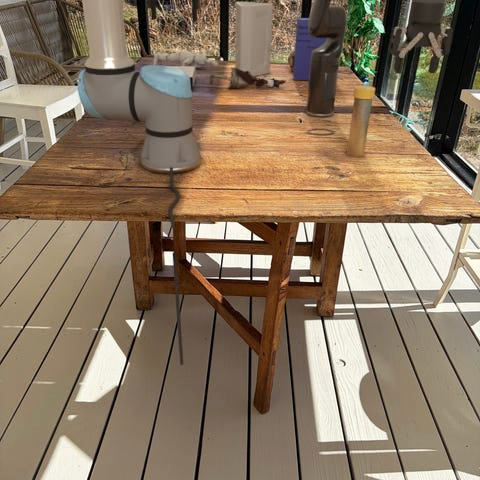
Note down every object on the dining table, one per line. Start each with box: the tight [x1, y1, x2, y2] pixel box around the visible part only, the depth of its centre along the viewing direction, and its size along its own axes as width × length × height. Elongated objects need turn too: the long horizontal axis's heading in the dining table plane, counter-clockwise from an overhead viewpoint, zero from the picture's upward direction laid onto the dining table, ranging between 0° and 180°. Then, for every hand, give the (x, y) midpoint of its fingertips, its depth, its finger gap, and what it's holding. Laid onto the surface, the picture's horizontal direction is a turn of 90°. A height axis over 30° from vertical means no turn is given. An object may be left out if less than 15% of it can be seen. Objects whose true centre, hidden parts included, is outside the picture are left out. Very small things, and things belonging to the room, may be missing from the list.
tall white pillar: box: [234, 1, 274, 77], centre depth 210 cm, size 19×15×28 cm
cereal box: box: [292, 17, 327, 81], centre depth 201 cm, size 17×5×24 cm, turn 86°
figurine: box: [209, 66, 287, 89], centre depth 190 cm, size 24×8×30 cm
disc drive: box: [168, 65, 197, 91], centre depth 195 cm, size 18×22×5 cm
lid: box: [353, 85, 376, 100], centre depth 122 cm, size 5×5×2 cm
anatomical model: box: [287, 49, 295, 72], centre depth 221 cm, size 13×9×15 cm
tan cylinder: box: [346, 96, 374, 158], centre depth 126 cm, size 5×5×17 cm
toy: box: [153, 50, 219, 69], centre depth 223 cm, size 24×25×7 cm
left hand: (174, 20), depth 152 cm, fingers open, 13 cm apart
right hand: (414, 73), depth 118 cm, fingers open, 8 cm apart
